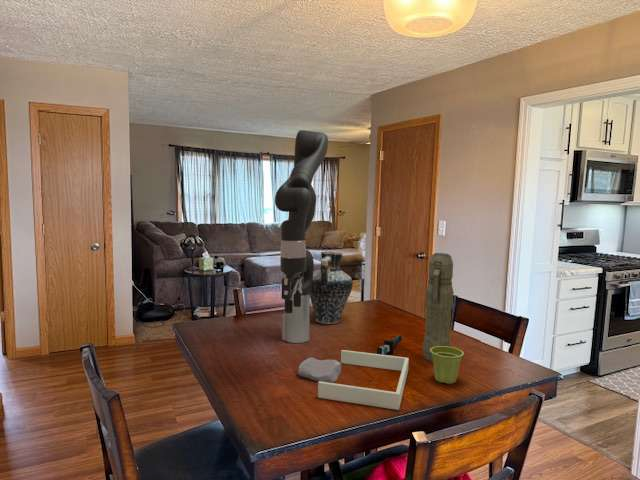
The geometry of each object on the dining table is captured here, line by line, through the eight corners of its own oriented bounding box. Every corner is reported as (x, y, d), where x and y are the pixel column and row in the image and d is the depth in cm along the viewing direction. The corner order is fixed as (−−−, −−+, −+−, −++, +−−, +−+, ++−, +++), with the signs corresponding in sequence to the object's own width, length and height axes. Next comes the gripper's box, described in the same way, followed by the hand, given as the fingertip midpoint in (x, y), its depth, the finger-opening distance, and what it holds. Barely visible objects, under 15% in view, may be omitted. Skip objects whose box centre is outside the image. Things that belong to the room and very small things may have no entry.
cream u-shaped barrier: (317, 397, 115) (318, 382, 115) (341, 361, 141) (341, 349, 141) (398, 409, 109) (399, 394, 109) (408, 370, 135) (408, 357, 135)
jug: (309, 314, 198) (311, 248, 196) (352, 317, 196) (355, 250, 193) (301, 327, 178) (303, 253, 175) (349, 330, 175) (351, 255, 173)
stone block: (333, 390, 124) (343, 371, 133) (332, 375, 123) (342, 357, 132) (294, 385, 128) (306, 367, 137) (293, 370, 127) (305, 353, 136)
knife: (380, 361, 138) (381, 347, 138) (371, 359, 140) (372, 345, 140) (408, 345, 165) (409, 333, 165) (400, 343, 167) (401, 332, 167)
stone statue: (419, 361, 143) (424, 254, 140) (425, 350, 154) (430, 251, 151) (447, 366, 140) (453, 256, 137) (451, 354, 151) (457, 253, 148)
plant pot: (442, 388, 123) (444, 358, 122) (422, 376, 131) (423, 347, 130) (469, 384, 126) (470, 354, 126) (447, 372, 135) (448, 344, 134)
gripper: (288, 253, 138) (288, 304, 139) (272, 257, 124) (272, 314, 125) (311, 253, 136) (311, 305, 137) (298, 258, 122) (298, 316, 123)
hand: (293, 309), depth 131 cm, fingers open, 8 cm apart
